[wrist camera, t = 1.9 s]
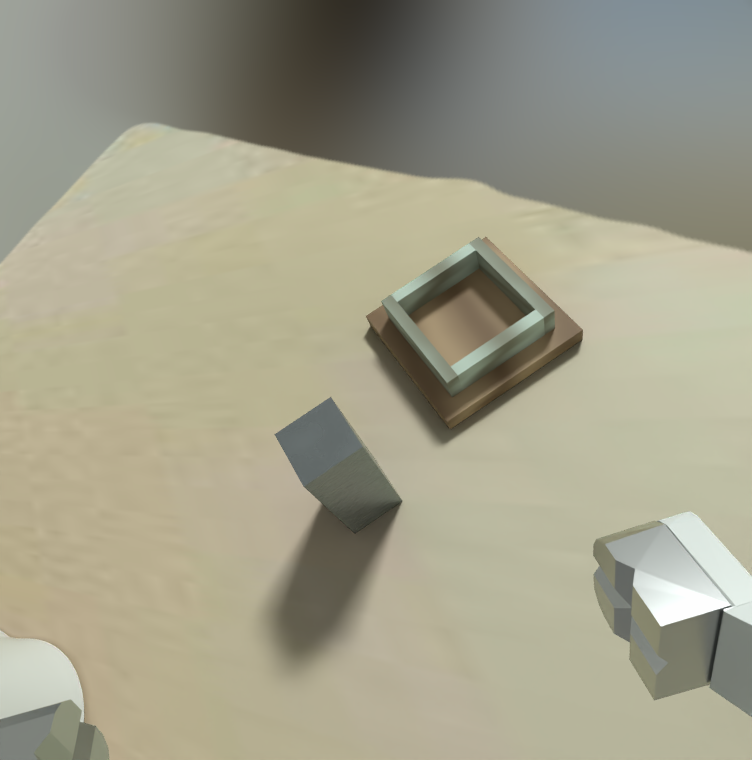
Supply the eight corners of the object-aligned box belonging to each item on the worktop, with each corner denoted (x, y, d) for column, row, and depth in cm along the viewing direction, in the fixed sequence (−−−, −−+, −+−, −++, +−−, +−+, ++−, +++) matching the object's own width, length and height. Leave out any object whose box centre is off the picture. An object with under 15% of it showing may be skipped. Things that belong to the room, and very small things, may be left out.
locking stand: (450, 429, 50) (441, 407, 47) (370, 325, 57) (357, 299, 53) (582, 339, 51) (583, 311, 47) (487, 247, 58) (482, 217, 54)
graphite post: (354, 533, 48) (303, 486, 39) (328, 488, 50) (274, 434, 41) (402, 501, 48) (362, 446, 39) (374, 458, 50) (330, 396, 41)
